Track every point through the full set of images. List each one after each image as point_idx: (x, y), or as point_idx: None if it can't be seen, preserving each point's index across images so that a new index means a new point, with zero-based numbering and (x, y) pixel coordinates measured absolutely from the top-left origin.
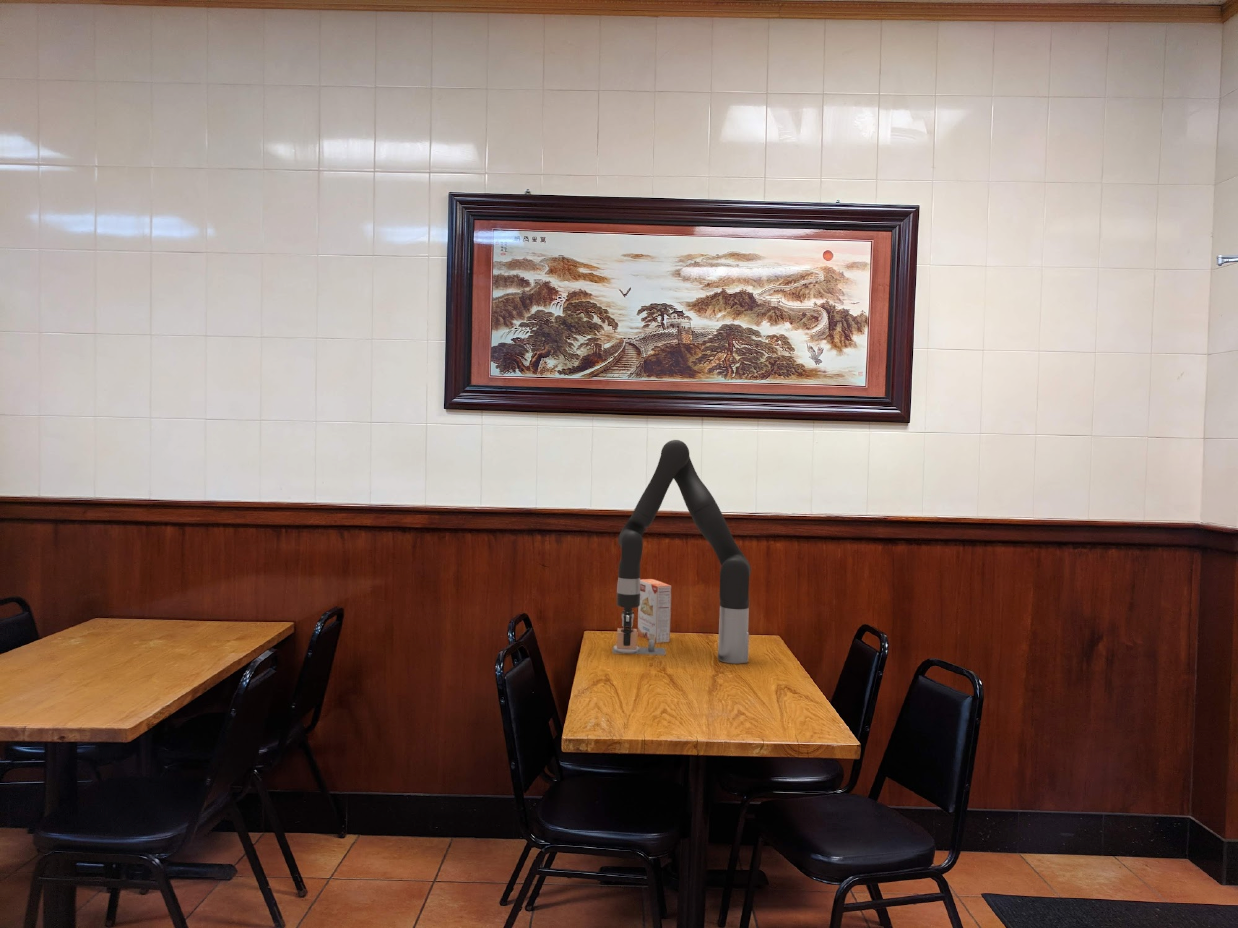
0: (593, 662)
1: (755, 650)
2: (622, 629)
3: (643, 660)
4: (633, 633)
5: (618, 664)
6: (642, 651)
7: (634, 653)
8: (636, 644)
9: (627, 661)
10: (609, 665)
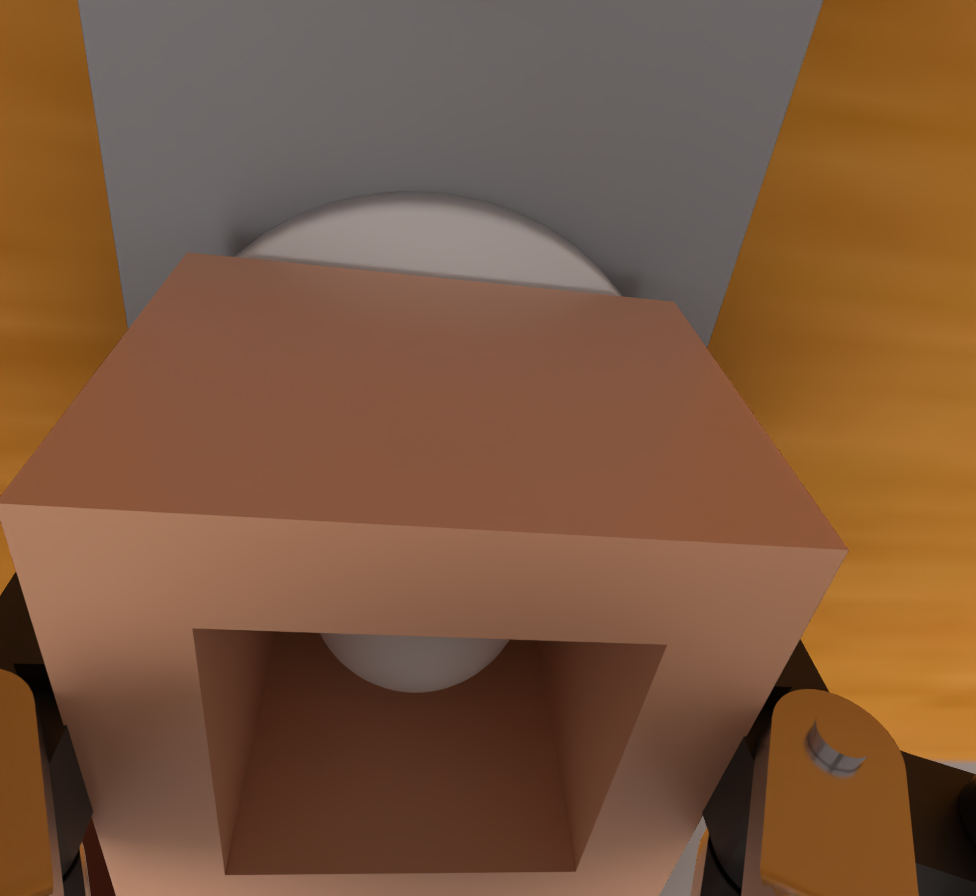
0: None
1: None
2: (225, 846)
3: (866, 120)
4: (793, 639)
5: (963, 519)
6: (542, 115)
7: (702, 315)
8: (701, 356)
9: (851, 402)
10: (966, 606)
